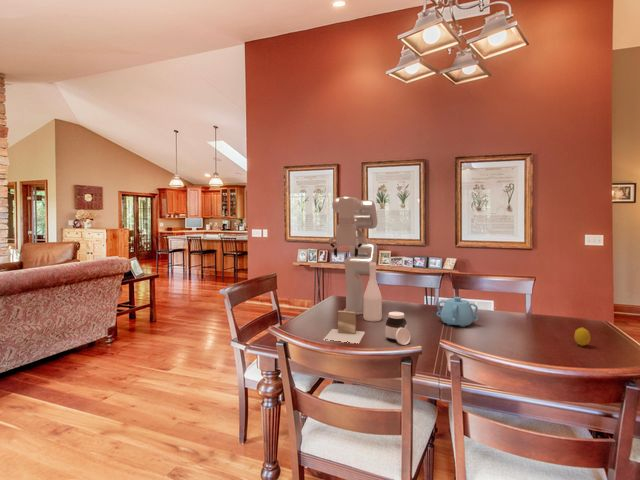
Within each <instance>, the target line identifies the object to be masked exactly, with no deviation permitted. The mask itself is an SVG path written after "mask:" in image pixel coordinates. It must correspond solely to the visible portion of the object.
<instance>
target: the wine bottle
mask: <svg viewBox="0 0 640 480" xmlns="http://www.w3.org/2000/svg"><path fill="white" fill-rule="evenodd" d="M369 267H370V274H369V278H368V282H367V285H366V288H365V291H364V293H363V314H362V315H363V319H364V320H365V321H367V322H372V323H375V322H380V321H381V320H382V318H383V317H382V316H383V315H382V314H383V313H382V312H383V297H382V293H381V289H380V287H379V283H378V281H377V262H376V263H373V262H372V263H370V264H369Z"/></svg>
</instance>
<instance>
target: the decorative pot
mask: <svg viewBox="0 0 640 480" xmlns="http://www.w3.org/2000/svg"><path fill="white" fill-rule="evenodd" d="M461 298H462V297H460V296H454V297H453V298H448V299H446V300H443V299H441V300H440V301H438V302H437V308H438V311H437V312H436V316H437V317H439V318H441V321H442V323H445V324H446V326H459V327H461V328H466V327H467V326H470V325H471V324H472V323H473V321H474V322H477V321H479V316H478V315H477V313H478V309H479V307H478V305H477V304H475V303H473V302H469V301H468V300H466V299H461ZM441 303H442V304H443V303H444V304H443V306H442V308H441ZM472 307H474V308H475V309H474V311H473V309H472Z"/></svg>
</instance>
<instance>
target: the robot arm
mask: <svg viewBox="0 0 640 480" xmlns="http://www.w3.org/2000/svg"><path fill="white" fill-rule="evenodd" d="M331 206H332V210H333V212H334V213H337V214H338V224H336V229H335V236H333V237H331V238H328V240H327V241H328V243H329V245H330V246H331V247H332V248H333V255H334V256H335V258H337V257H338V249H337V248H338V246H349V255H350V256H347V257H346V258H345V260H344V271H345V308H344V309H343V310H345V311H356V316H358V315H363V303H364V280H363V279H362V277H361V276H360V275H362V274H363V275H365V274H366V275H370V267H369V264H370V263H372V262H373V263H376V264H377V261H378V246H377V243H375V242H373V241H366V240H367V237H366V235H365V233H363V232H362V230H363V229H366V230H367V229H368V230H369V229H371V230H373V229H376V228H377V225H378V216H377V208H376V207H377V206H376V204H375V202H374V201H373V200H371V199H369V200H366V199H365V200H362V199H361V200H360V199H359V198H358V197H354V196H353V197H352V196H341V197H335V198H334V199H333V200H332V205H331ZM361 229H362V230H361ZM333 241H335V244H334V243H333Z"/></svg>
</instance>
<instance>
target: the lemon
mask: <svg viewBox="0 0 640 480" xmlns="http://www.w3.org/2000/svg"><path fill="white" fill-rule="evenodd" d="M590 333H591V332H590V331H589V330H588V329H587V328H585V327H583V326H582V327H579V328H577V329H575V331H574V335H573V336H574V337H573V338H574V342H576V343H577V344H578V345H580V347H584V346H586V345H588V344H589V343H590V341H591V334H590Z"/></svg>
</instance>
